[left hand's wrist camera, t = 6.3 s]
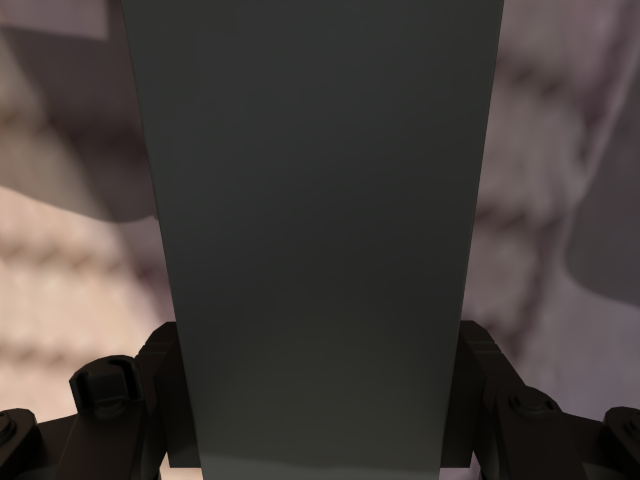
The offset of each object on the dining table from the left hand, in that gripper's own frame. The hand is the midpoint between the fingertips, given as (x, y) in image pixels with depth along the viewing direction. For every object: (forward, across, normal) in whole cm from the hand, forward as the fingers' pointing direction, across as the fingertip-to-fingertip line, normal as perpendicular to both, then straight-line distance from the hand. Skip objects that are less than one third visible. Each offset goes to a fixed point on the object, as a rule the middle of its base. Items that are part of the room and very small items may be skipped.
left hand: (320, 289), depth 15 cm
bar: (+1, 0, -19) cm, 19 cm away
